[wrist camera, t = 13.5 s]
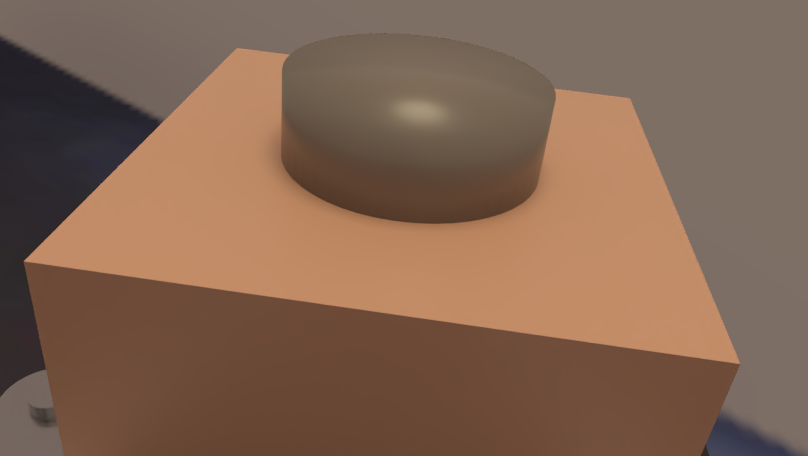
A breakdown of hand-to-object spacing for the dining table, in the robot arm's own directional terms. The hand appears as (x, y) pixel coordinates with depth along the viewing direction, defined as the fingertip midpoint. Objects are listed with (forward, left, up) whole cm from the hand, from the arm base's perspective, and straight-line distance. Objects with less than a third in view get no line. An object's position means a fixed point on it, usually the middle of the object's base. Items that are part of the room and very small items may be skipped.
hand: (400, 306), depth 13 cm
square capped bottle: (+1, -2, -6) cm, 6 cm away
